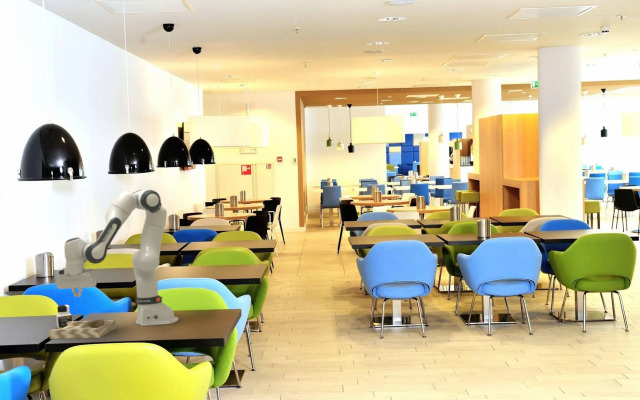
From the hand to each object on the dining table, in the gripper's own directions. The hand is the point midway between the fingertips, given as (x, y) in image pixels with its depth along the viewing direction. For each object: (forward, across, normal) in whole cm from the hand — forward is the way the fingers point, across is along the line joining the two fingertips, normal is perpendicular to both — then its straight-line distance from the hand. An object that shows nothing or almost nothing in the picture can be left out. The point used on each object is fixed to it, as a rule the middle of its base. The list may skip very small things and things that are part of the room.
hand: (77, 296), depth 370 cm
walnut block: (+17, -9, +1) cm, 19 cm away
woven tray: (+19, -2, 0) cm, 19 cm away
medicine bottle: (+19, +18, -17) cm, 31 cm away
